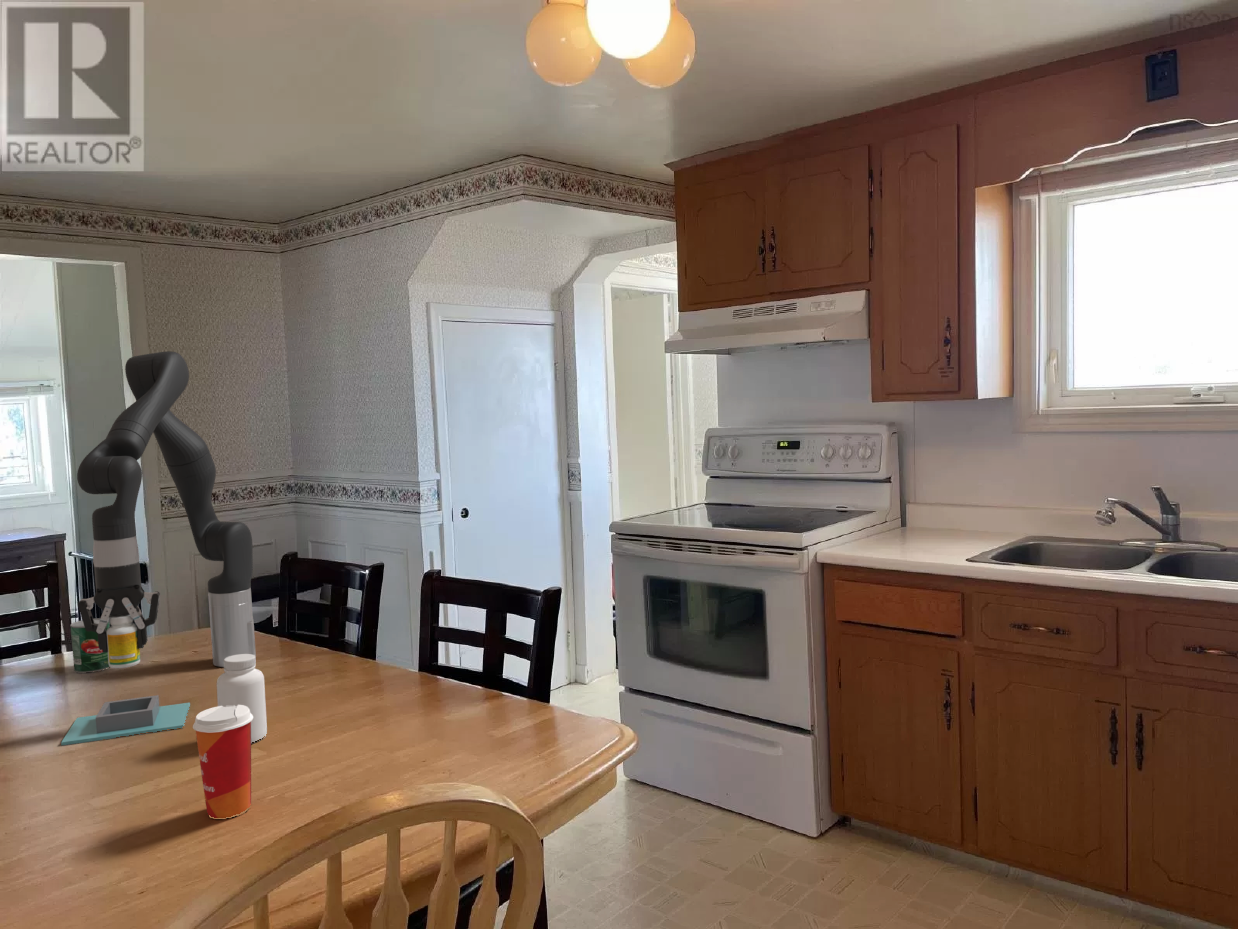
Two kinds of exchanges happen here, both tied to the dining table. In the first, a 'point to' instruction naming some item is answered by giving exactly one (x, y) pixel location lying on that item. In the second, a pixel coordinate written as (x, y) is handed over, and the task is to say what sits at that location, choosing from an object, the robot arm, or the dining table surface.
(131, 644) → the supplement bottle
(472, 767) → the dining table surface
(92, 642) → the canned tomato
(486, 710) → the dining table surface
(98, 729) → the bottle stand
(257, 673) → the pill bottle
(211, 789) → the coffee cup
